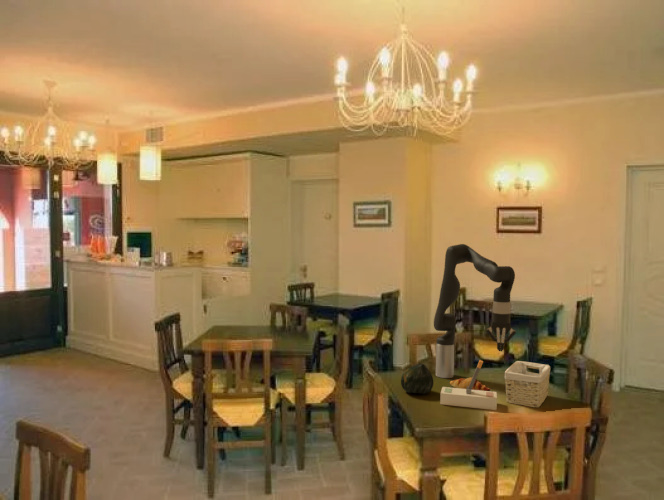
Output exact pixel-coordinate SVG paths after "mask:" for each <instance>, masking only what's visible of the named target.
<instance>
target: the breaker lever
mask: <svg viewBox="0 0 664 500" xmlns="http://www.w3.org/2000/svg"><path fill="white" fill-rule="evenodd" d="M483 363H484V361H483V360H481V359H479V361H478V363H477V366H476V368H475V370H474V373H473V375H472V377H471V378H472V380H471V382H470V385H469V387H468V389H471V390H472V388H473V385H474V383H475V380H477V378H478V375H479V373H480V372H481V371H480V370H481V368H482V365H483Z"/></svg>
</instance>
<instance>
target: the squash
mask: <svg viewBox="0 0 664 500" xmlns="http://www.w3.org/2000/svg"><path fill="white" fill-rule="evenodd" d="M400 384H401V388H402V389H403V390H404V391H405V392H407V393H408V394H419V395H426V394H428V393H430V392H431V390H432V389H433V387H434V378H433V374H432V372H431V371H430V369H429V368H428V367H427V365H425V363H417V364H415V365H413V366H410V367H408V368H407V369H406V370H404V372H403V373H402V375H401V378H400Z"/></svg>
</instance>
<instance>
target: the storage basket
mask: <svg viewBox="0 0 664 500" xmlns="http://www.w3.org/2000/svg"><path fill="white" fill-rule="evenodd" d="M527 369H533V370H539V371H538V372H539V373H536V372H530V371H527ZM550 374H551V366H550V365H549V364H542V363H537V362H530V361H521V360H516V361H515V362H513V363H512V364H511V365H510V366H509V367H508V368H507V369H506V370H505V371H504V381H505V392H506V393H505V394H506V402H507V403H510V404H513V405H519V406H525V407H531V408H540V406H541V405H542V404H543V403H544V402H545V399H546V398H547V397H548V395H549V385H550Z"/></svg>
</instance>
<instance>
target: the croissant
mask: <svg viewBox="0 0 664 500" xmlns="http://www.w3.org/2000/svg"><path fill="white" fill-rule="evenodd" d="M471 380H472V377H468V378H459V379H454V380H451V381H449V384H450V386H451V387H452V388H460V389H467V387H469V385H470V382H471ZM472 390H481V391H491V388H490V387H487V386H486V385H485V384H482V383H481V381H479V380H477V379H476V380H475V383H474V385H473V388H472Z"/></svg>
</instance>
